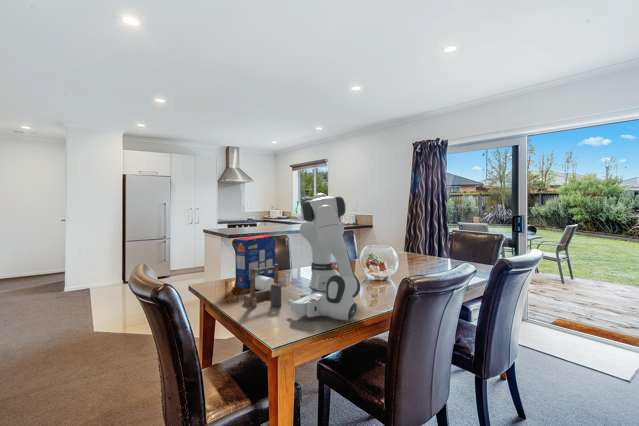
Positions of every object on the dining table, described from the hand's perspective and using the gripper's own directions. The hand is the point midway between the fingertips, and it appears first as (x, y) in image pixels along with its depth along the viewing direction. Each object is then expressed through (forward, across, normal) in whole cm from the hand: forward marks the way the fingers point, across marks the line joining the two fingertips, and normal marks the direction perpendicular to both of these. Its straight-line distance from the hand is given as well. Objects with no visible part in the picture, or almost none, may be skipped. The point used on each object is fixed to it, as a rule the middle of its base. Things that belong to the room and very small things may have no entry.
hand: (295, 298), depth 146 cm
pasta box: (+49, -26, +6) cm, 56 cm away
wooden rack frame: (+21, -1, +6) cm, 22 cm away
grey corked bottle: (+11, 0, +6) cm, 13 cm away
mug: (+33, -18, +6) cm, 38 cm away
